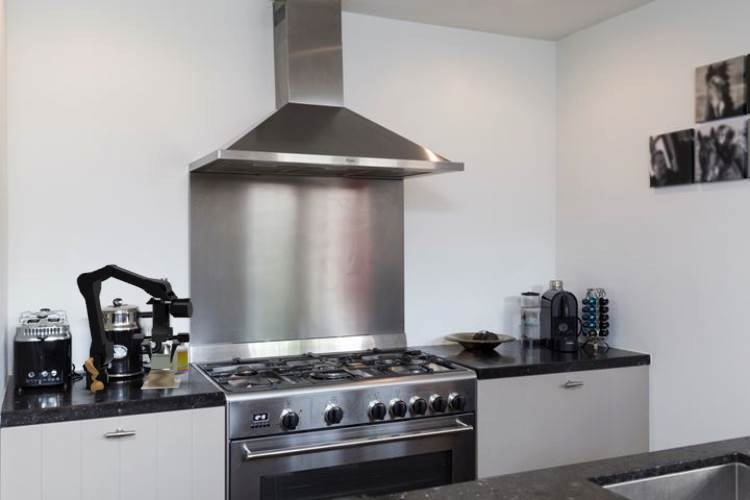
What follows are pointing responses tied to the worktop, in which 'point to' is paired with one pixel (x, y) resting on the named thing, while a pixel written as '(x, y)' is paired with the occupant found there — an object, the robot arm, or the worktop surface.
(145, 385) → the baseplate
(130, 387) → the worktop surface
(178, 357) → the supplement bottle
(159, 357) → the sage brick
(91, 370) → the figurine
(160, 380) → the wood brick
